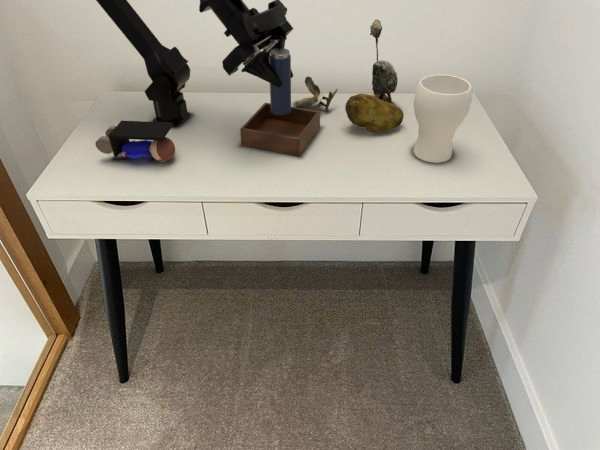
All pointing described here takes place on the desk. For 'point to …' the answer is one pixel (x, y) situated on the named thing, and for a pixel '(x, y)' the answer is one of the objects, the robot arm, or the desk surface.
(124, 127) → the figurine character
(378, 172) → the desk surface
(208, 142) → the desk surface
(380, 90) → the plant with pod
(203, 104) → the desk surface
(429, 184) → the desk surface
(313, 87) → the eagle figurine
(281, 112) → the can
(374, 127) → the potato
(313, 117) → the desk bin
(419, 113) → the cup
